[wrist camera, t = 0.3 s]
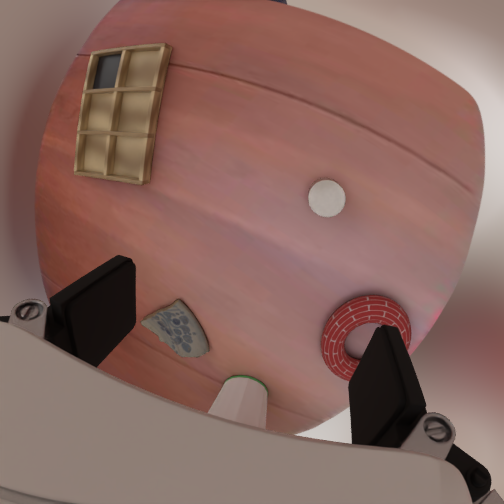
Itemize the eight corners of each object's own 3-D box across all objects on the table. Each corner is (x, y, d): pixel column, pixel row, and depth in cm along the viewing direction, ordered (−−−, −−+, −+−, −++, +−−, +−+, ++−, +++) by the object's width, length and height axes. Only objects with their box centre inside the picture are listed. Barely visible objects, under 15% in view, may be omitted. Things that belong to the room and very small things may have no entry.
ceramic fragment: (134, 314, 46) (175, 306, 42) (144, 305, 49) (185, 296, 45) (164, 363, 49) (207, 361, 44) (173, 352, 51) (214, 349, 47)
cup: (223, 409, 53) (201, 469, 39) (205, 366, 49) (173, 430, 35) (283, 410, 50) (272, 475, 36) (272, 365, 46) (256, 438, 32)
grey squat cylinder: (312, 173, 35) (312, 176, 32) (346, 182, 34) (349, 185, 31) (304, 207, 36) (304, 212, 34) (337, 215, 36) (340, 221, 33)
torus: (398, 369, 42) (402, 383, 39) (319, 373, 45) (318, 388, 42) (415, 288, 37) (422, 300, 34) (321, 292, 40) (322, 305, 37)
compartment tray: (99, 54, 33) (91, 51, 31) (172, 47, 32) (165, 42, 30) (82, 172, 41) (73, 174, 39) (149, 183, 39) (142, 185, 37)
